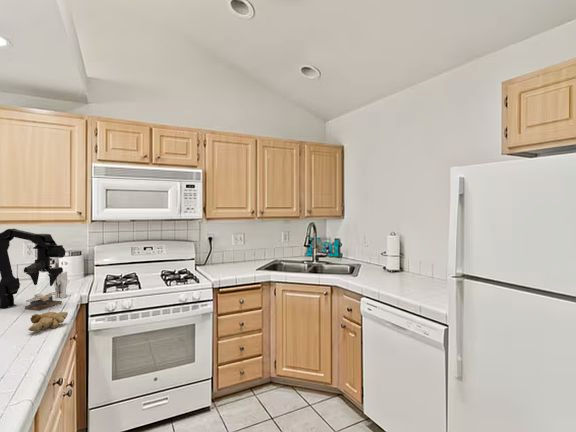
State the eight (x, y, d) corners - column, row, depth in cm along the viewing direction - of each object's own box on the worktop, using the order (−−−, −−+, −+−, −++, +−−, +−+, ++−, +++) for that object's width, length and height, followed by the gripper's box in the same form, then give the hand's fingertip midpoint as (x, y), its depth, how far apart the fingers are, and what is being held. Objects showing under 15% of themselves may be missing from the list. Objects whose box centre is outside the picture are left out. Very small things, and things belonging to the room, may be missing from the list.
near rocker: (26, 302, 177) (25, 300, 177) (31, 301, 180) (31, 298, 180) (36, 299, 175) (35, 296, 175) (41, 298, 178) (40, 295, 178)
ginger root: (60, 315, 162) (61, 300, 160) (71, 330, 152) (72, 315, 151) (20, 325, 150) (20, 309, 148) (29, 342, 140) (30, 325, 139)
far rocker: (42, 298, 186) (42, 295, 186) (47, 296, 188) (46, 294, 189) (52, 295, 184) (51, 292, 184) (56, 293, 187) (56, 291, 187)
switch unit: (25, 309, 177) (24, 301, 177) (48, 302, 189) (48, 295, 189) (39, 310, 174) (39, 303, 174) (61, 303, 187) (61, 296, 187)
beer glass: (51, 299, 196) (51, 274, 196) (56, 296, 203) (56, 272, 202) (65, 298, 198) (64, 273, 197) (69, 295, 204) (69, 271, 204)
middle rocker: (34, 296, 181) (34, 294, 181) (39, 295, 184) (39, 292, 184) (43, 301, 180) (44, 298, 180) (48, 299, 183) (49, 297, 182)
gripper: (14, 258, 172) (14, 288, 173) (47, 260, 170) (46, 290, 171) (32, 255, 183) (32, 283, 184) (63, 257, 181) (63, 285, 182)
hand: (43, 285), depth 180 cm, fingers open, 9 cm apart
